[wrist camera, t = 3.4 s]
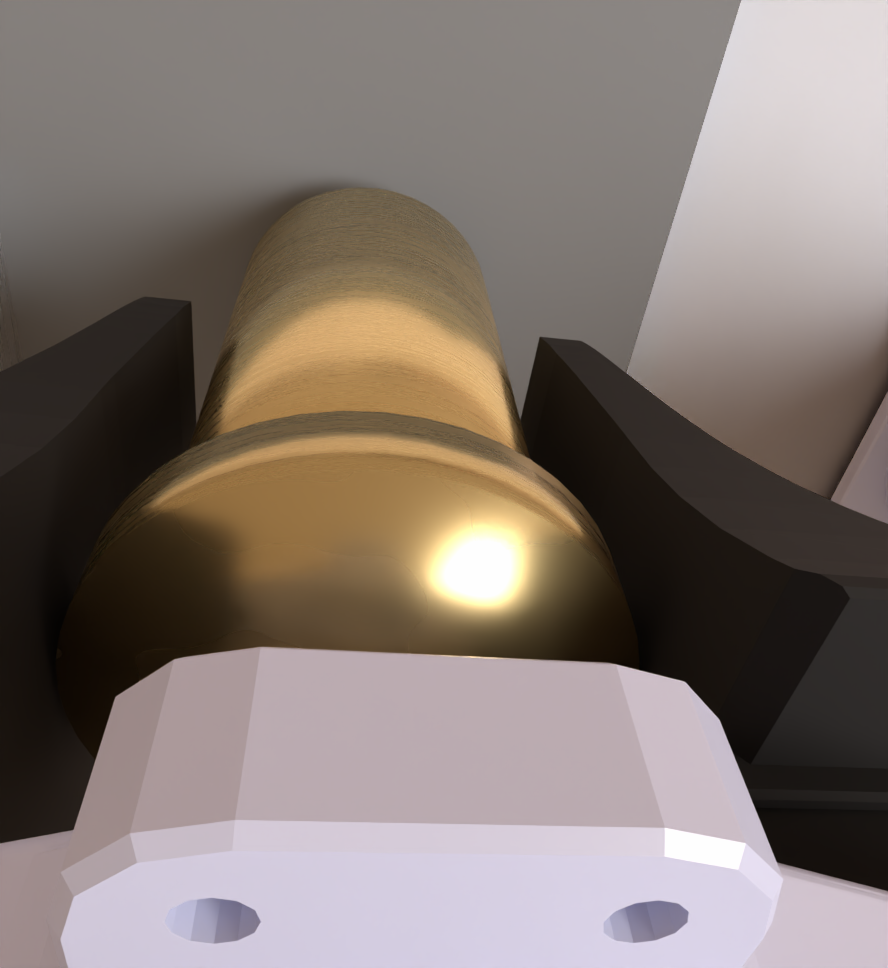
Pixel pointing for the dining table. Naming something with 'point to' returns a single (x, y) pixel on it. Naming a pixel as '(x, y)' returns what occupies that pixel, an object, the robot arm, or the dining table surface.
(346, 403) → the brass door knob
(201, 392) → the mat
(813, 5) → the dining table surface
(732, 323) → the dining table surface
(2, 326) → the block
